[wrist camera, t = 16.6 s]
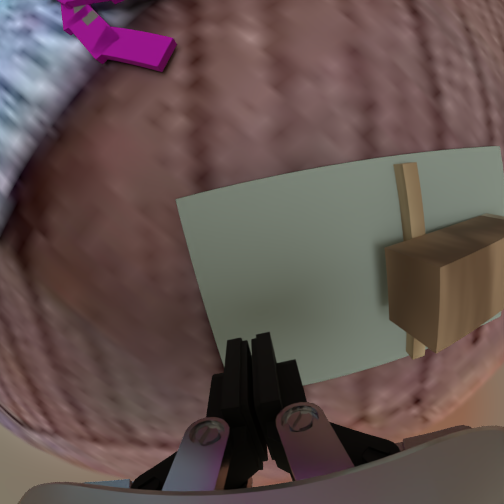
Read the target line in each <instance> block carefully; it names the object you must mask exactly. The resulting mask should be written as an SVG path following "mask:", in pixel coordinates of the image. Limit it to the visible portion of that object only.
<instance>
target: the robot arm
mask: <svg viewBox="0 0 504 504" xmlns="http://www.w3.org/2000/svg"><path fill="white" fill-rule="evenodd" d="M251 349H252V355H251V351H250V347H249V344H248V341H247V340H244V341H242V338H235V339H230V340H227V346H226V356H225V366H224V373H220V374H214V375H213V376H212V381H211V388H210V395H209V401H208V408H207V415H206V418H203V419H200V420H197V421H196V422H194V423H192V424H191V425H190V426H189V427H188V429H187V430H186V432H185V434H184V437H183V439H182V442H181V444H180V447H179V449H178V451H177V452H175V453H174V454H172V455H171V456H169V457H168V458H166V459H165V460H163V461H162V462H160V463H159V464H157V465H156V466H154V467H153V468H151V469H150V470H148V471H146V472H145V473H143V474H142V475H140V476H139V477H138V478H136V479H135V481H133V482H132V481H131V480H130V479H125V480H114V481H102V482H85V483H73V482H53V483H46V484H40V485H37V486H34V487H32V488H31V489H29V490H28V491H27V492H26V493H25V494H24V495H23V496H22V498H21V499H20V501H19V502H18V504H504V427H502V426H482V427H477V428H471V427H469V426H464V425H461V426H455V427H451V428H447V429H444V430H440V431H436V432H432V433H428V434H424V435H419V436H415V437H410V438H405V439H403V442H400V443H394V442H391V441H389V440H386V439H383V438H379V437H376V436H372V435H369V434H365V433H362V432H359V431H355V430H352V429H349V428H346V427H343V426H340V425H337V424H334V423H331V422H329V421H328V419H327V417H326V416H325V414H324V412H323V410H322V409H321V408H320V407H319V406H317V405H315V404H313V403H309V402H307V401H306V397H305V393H304V389H303V385H302V381H301V378H300V374H299V370H298V366H297V362H296V359H293V360H289V361H284V362H280V363H277V361H276V357H275V352H274V348H273V344H272V339H271V335H270V332H265V333H261V334H256V338H254V339H251ZM267 446H268V449H269V452H270V455H271V458H272V460H275V461H276V464H277V467H278V468H280V469H282V470H284V471H286V472H288V473H290V476H291V479H292V481H293V482H287V483H281V484H275V485H268V486H260V487H252V484H253V479H252V476H253V475H254V474H255V473H256V472H257V471H258V470H263V461H268V454H267Z"/></svg>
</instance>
